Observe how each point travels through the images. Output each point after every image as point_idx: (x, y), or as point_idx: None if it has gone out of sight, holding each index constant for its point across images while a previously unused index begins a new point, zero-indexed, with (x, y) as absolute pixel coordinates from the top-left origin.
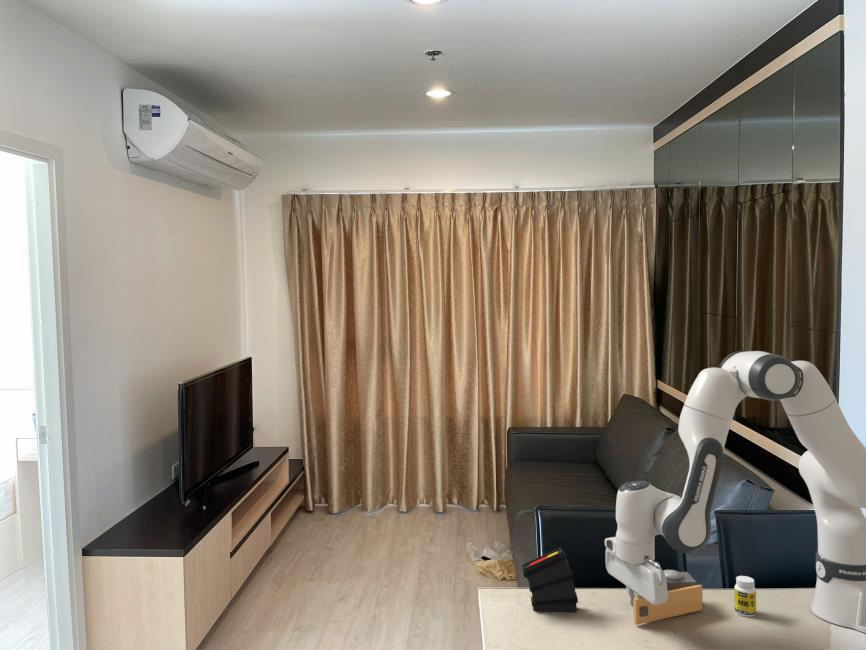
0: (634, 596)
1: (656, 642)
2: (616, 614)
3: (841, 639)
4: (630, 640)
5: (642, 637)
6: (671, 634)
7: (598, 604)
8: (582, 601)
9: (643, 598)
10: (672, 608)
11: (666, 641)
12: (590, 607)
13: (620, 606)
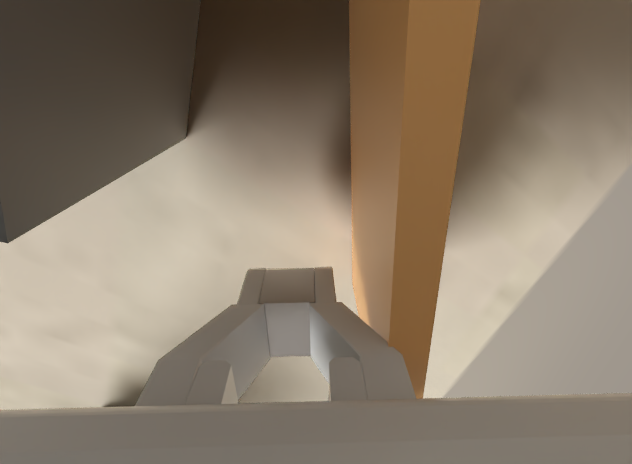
0: (258, 337)
1: (547, 267)
2: (206, 293)
3: None
4: (460, 352)
5: (470, 299)
6: (545, 135)
7: (73, 318)
8: (36, 365)
9: (423, 370)
10: None
11: (577, 216)
12: (109, 361)
13: (103, 225)
